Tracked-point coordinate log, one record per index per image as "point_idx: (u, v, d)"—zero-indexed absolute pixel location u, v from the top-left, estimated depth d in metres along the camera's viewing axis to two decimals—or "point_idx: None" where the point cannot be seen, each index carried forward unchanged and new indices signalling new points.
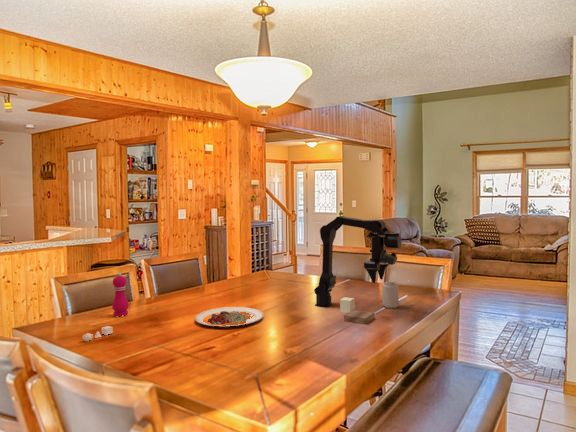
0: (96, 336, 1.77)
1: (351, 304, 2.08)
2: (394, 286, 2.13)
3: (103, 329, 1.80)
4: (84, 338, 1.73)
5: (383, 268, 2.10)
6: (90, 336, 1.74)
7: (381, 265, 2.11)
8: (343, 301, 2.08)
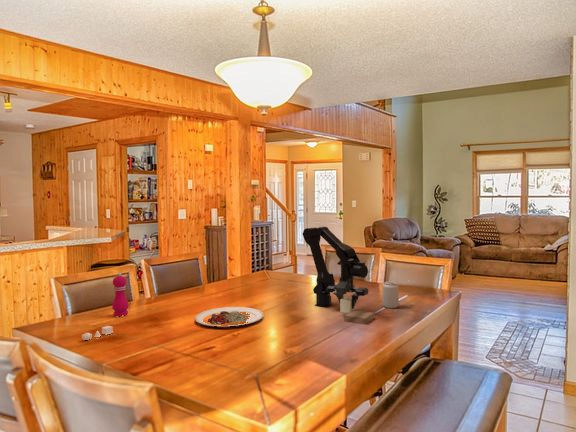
0: (96, 336, 1.77)
1: (351, 304, 2.08)
2: (394, 286, 2.13)
3: (103, 329, 1.81)
4: (83, 337, 1.74)
5: None
6: (89, 336, 1.74)
7: None
8: (343, 301, 2.08)
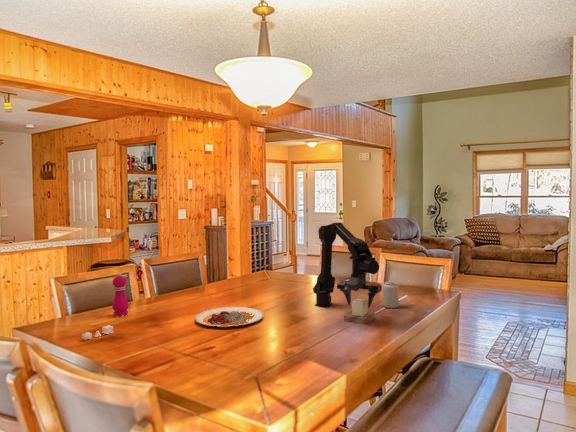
0: (96, 335, 1.78)
1: (363, 306, 1.94)
2: (394, 286, 2.13)
3: (103, 328, 1.82)
4: (83, 337, 1.74)
5: None
6: (89, 335, 1.75)
7: None
8: (355, 303, 1.94)
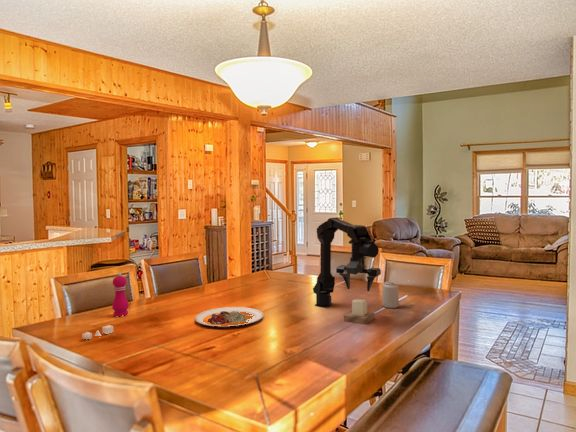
0: (96, 335, 1.78)
1: (364, 306, 1.94)
2: (394, 286, 2.13)
3: (104, 328, 1.82)
4: (83, 337, 1.75)
5: None
6: (89, 335, 1.75)
7: None
8: (355, 303, 1.94)
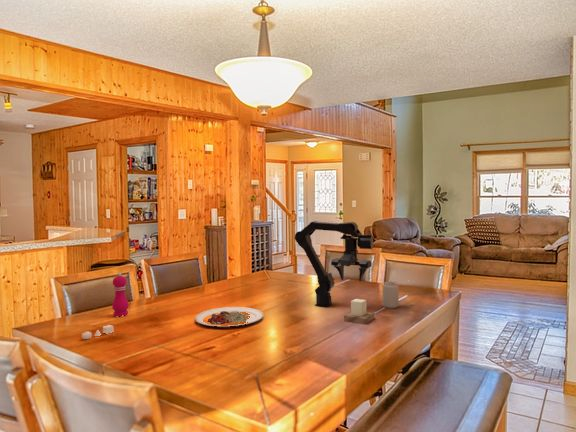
0: (96, 335, 1.79)
1: (362, 306, 1.94)
2: (394, 286, 2.13)
3: (104, 328, 1.82)
4: (83, 336, 1.75)
5: None
6: (89, 334, 1.76)
7: None
8: (354, 303, 1.94)
